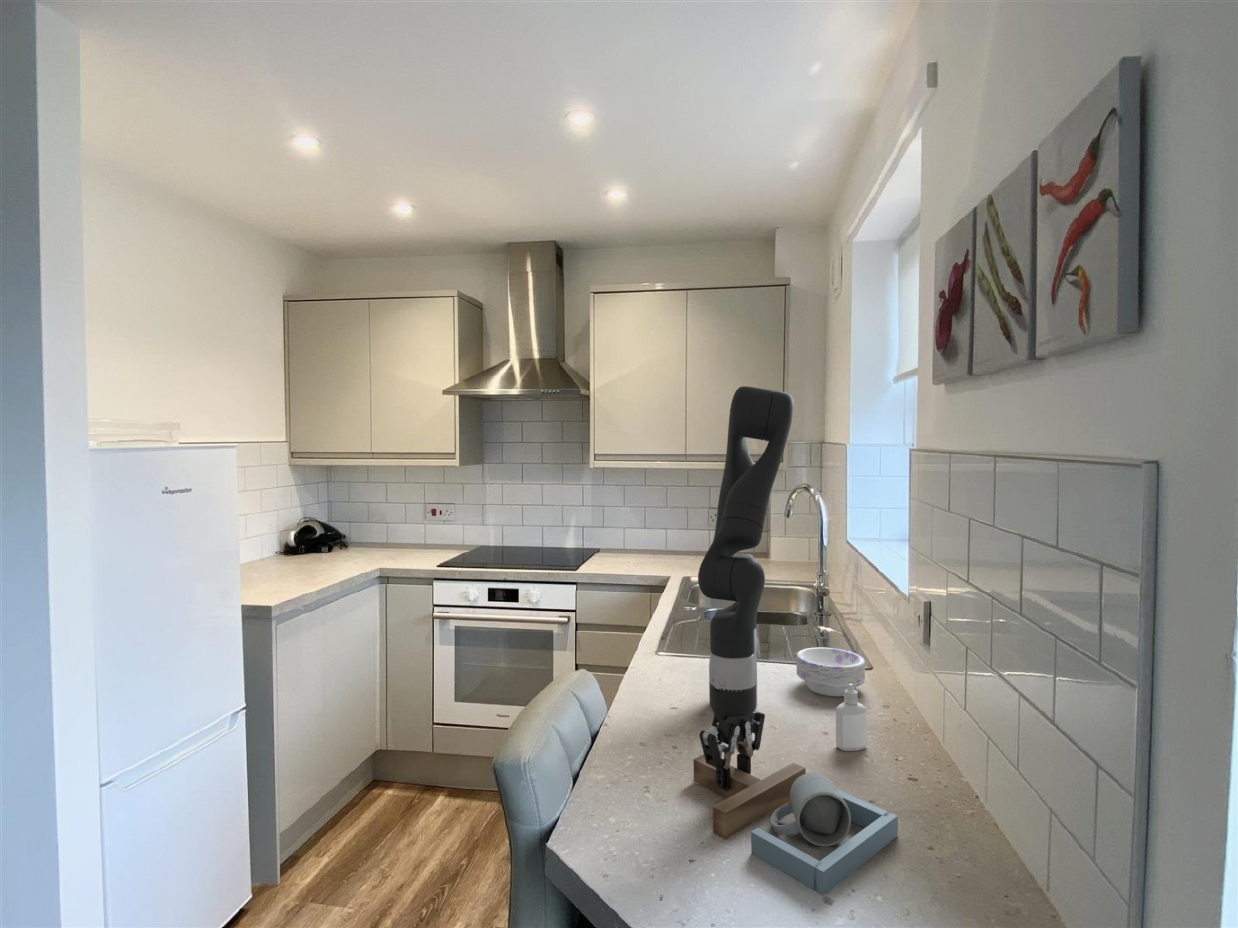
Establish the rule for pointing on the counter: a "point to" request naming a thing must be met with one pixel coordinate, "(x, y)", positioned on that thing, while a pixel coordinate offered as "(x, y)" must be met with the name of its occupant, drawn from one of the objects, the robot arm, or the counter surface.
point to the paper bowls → (830, 670)
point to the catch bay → (840, 861)
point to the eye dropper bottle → (851, 722)
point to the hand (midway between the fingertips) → (733, 782)
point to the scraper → (745, 795)
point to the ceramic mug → (814, 812)
